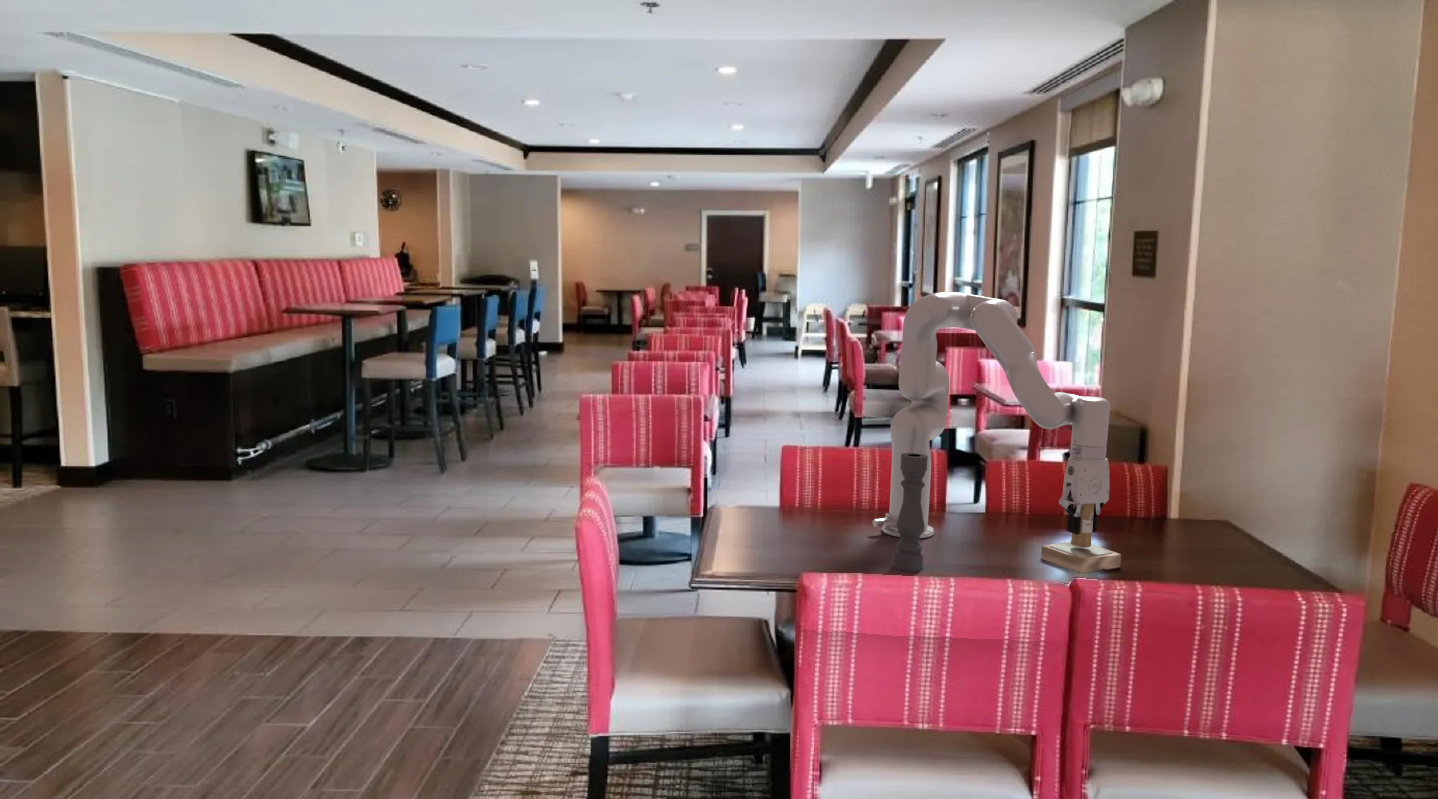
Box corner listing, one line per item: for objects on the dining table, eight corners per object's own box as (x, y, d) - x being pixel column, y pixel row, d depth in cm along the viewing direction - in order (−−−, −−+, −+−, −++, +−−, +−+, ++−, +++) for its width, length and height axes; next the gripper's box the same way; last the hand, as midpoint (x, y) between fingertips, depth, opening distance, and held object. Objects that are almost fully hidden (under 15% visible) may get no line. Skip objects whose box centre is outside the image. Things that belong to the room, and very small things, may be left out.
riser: (1080, 573, 227) (1081, 559, 226) (1040, 558, 237) (1041, 544, 237) (1120, 567, 232) (1121, 553, 232) (1079, 553, 243) (1080, 539, 242)
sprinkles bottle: (1090, 549, 231) (1096, 490, 230) (1069, 546, 233) (1074, 487, 231) (1091, 544, 236) (1096, 486, 234) (1070, 541, 237) (1075, 484, 235)
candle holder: (891, 563, 231) (896, 452, 227) (918, 563, 231) (924, 452, 228) (898, 571, 225) (904, 458, 221) (926, 571, 225) (932, 458, 222)
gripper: (1072, 457, 224) (1066, 539, 227) (1128, 453, 232) (1121, 532, 234) (1047, 451, 231) (1041, 531, 233) (1102, 447, 239) (1095, 524, 241)
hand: (1081, 530), depth 234 cm, fingers closed on sprinkles bottle, 4 cm apart
